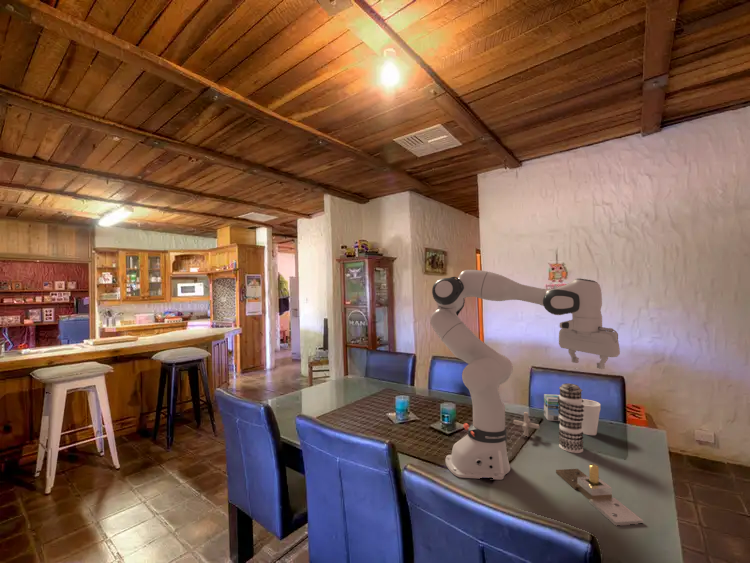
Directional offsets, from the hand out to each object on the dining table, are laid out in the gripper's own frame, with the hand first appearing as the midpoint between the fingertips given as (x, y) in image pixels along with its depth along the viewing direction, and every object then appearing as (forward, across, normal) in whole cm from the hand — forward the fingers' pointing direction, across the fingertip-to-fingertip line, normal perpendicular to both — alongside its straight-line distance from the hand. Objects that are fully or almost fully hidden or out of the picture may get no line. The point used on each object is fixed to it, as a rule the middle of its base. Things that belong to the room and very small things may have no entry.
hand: (587, 365), depth 119 cm
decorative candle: (+37, +16, -11) cm, 42 cm away
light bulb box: (+37, +40, -32) cm, 63 cm away
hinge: (+37, -9, +10) cm, 40 cm away
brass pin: (+37, -9, +10) cm, 40 cm away
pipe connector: (+37, +30, -3) cm, 48 cm away
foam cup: (+37, +23, -31) cm, 54 cm away
